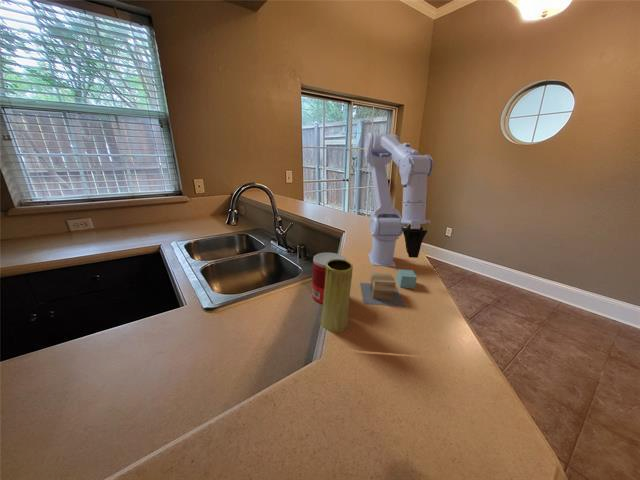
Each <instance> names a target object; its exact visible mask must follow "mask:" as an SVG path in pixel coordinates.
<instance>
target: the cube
mask: <svg viewBox="0 0 640 480" xmlns="http://www.w3.org/2000/svg"><path fill="white" fill-rule="evenodd" d="M397 270H398V271H397V275H396V276H397V277H396V282H397V284H398V286H399V287H400V288H403V289H416V283H417V275H416V274H415V271H414V270H413V269H412V270H411V269H397Z"/></svg>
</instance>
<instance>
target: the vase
mask: <svg viewBox="0 0 640 480" xmlns="http://www.w3.org/2000/svg"><path fill="white" fill-rule="evenodd" d="M353 268H354V267H353V263H352V262H351V261H349V260H347V259H346V260H342V259H333V260H330V261H328V262H327V263H326V275H325V287H324V298H323V305H322V309H321V318H320V325H321V327H322V328H323V329H324V330H326V331H328V332H332V333H341V332H344V331H345V330H347V328H348V327H349V325H350V323H349V321H350V320H349V312H350V310H349V309H350V297H351V288H352V287H351V286H352V279H353V270H354V269H353Z"/></svg>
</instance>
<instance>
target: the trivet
mask: <svg viewBox="0 0 640 480" xmlns="http://www.w3.org/2000/svg"><path fill="white" fill-rule="evenodd" d="M370 284H371V282H369V283H366V282H359V286H360V291H361V296H362V301H363V304H364V305H374V306H375V305H376V306H390V307H403V308H404V307H406V305H405V303H404V301H403V299H402V296H401V294H400V291H399V290H398V287H397V285H396V284H395V289H394V295H393V300H386V299H373V298H372V294H371V290H370Z"/></svg>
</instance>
